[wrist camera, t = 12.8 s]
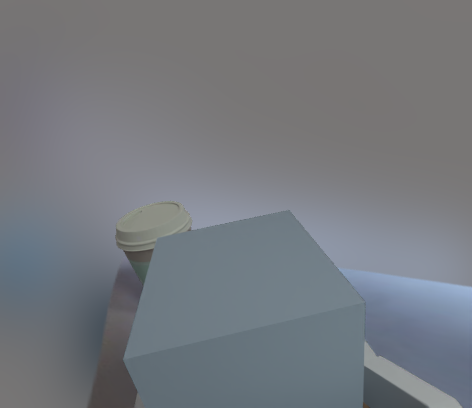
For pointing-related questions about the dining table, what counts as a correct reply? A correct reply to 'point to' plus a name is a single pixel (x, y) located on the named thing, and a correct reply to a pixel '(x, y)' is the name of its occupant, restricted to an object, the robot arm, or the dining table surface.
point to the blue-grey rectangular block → (247, 321)
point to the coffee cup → (149, 231)
